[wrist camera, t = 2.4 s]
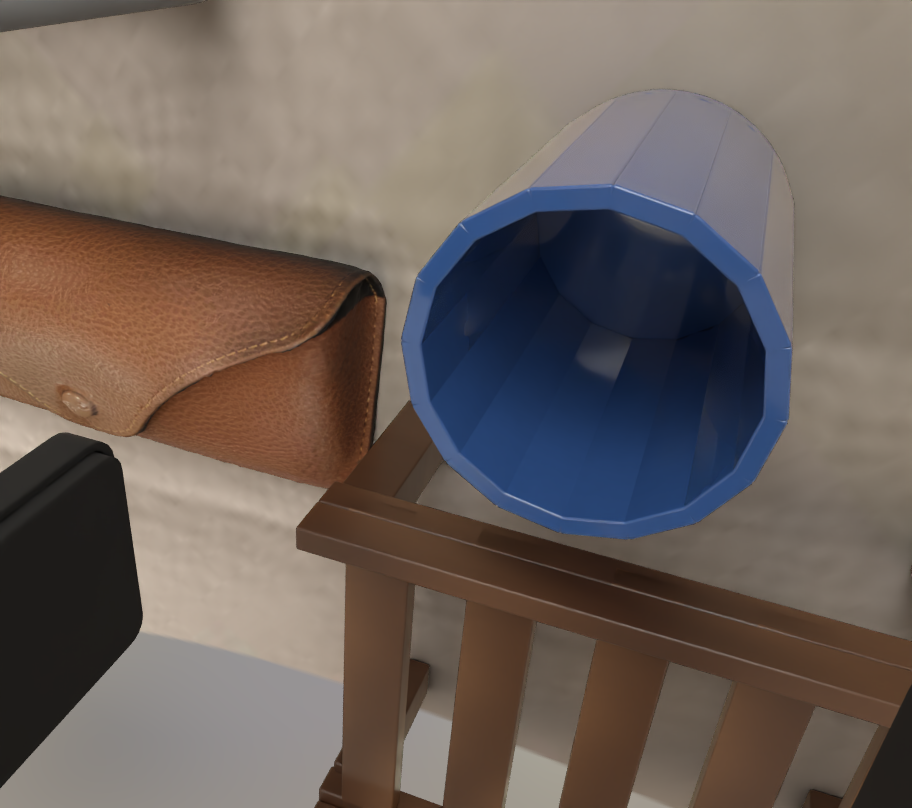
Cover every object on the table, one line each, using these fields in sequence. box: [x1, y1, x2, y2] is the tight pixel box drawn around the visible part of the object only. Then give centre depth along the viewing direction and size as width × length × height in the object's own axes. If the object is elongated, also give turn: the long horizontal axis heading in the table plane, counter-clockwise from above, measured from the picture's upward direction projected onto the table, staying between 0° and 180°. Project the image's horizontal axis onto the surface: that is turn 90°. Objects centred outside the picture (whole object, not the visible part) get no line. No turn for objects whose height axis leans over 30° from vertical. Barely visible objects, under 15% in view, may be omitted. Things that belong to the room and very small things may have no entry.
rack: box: [296, 401, 912, 808], centre depth 26 cm, size 17×13×7 cm
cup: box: [401, 89, 794, 540], centre depth 19 cm, size 7×7×9 cm
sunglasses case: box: [0, 196, 386, 489], centre depth 28 cm, size 18×7×7 cm
